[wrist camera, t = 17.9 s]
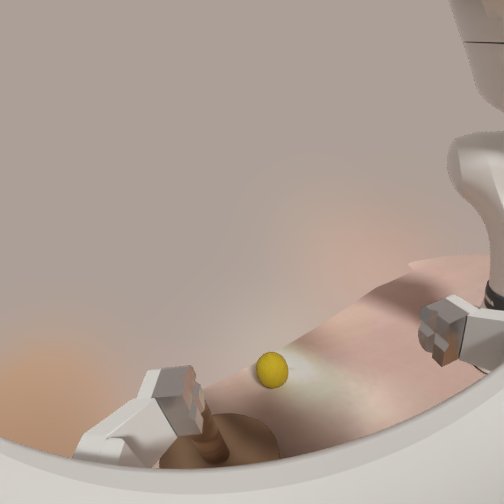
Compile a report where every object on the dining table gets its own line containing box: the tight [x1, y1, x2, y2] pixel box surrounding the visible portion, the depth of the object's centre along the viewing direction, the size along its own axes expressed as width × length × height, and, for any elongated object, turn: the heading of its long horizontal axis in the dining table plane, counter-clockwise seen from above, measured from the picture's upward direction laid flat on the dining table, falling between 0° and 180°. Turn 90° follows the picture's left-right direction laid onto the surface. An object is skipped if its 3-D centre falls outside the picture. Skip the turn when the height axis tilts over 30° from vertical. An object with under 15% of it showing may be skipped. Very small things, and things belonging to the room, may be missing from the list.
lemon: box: [256, 352, 288, 388], centre depth 46 cm, size 6×6×8 cm
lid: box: [159, 399, 279, 469], centre depth 28 cm, size 16×16×12 cm
